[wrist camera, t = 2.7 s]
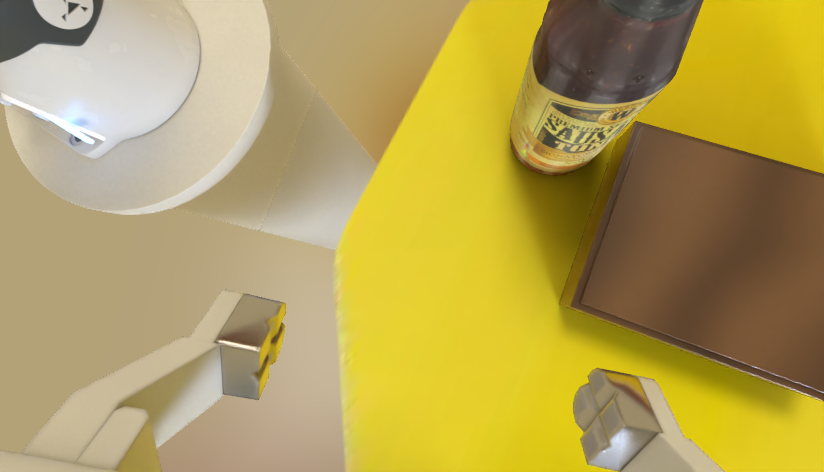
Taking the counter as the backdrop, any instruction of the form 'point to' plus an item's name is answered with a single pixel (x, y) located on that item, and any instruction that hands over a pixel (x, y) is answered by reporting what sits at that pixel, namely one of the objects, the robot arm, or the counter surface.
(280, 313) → the robot arm
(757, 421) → the counter surface
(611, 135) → the sauce bottle
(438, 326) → the counter surface
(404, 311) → the counter surface
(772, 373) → the walnut riser
